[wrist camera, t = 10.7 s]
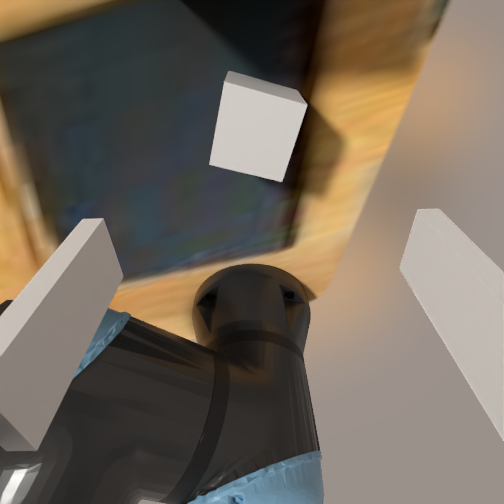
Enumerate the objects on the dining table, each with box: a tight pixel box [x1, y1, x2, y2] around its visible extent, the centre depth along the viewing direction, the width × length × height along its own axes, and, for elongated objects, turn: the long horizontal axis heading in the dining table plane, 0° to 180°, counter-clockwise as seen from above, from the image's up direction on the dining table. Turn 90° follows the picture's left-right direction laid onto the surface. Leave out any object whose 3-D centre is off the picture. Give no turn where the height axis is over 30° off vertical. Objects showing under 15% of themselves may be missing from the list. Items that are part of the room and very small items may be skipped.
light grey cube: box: [209, 71, 307, 182], centre depth 26 cm, size 6×6×6 cm
